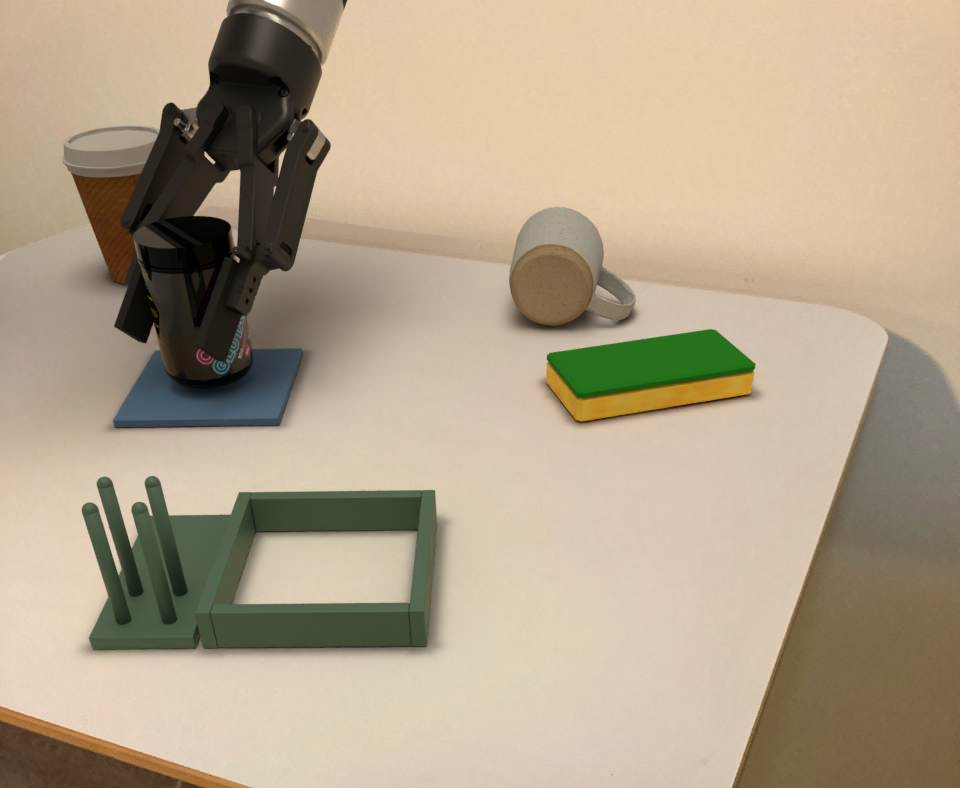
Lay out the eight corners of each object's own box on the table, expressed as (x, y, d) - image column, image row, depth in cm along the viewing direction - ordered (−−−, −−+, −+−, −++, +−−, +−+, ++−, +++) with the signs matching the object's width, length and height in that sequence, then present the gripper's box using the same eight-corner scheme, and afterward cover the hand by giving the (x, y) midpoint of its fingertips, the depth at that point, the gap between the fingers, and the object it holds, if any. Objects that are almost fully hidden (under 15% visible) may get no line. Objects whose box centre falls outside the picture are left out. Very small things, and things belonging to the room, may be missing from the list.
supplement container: (187, 400, 75) (154, 255, 68) (151, 368, 79) (117, 229, 73) (271, 374, 78) (247, 233, 71) (232, 345, 82) (207, 209, 76)
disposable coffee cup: (104, 258, 103) (71, 126, 95) (201, 253, 103) (176, 121, 95) (83, 294, 95) (45, 154, 88) (187, 289, 96) (159, 150, 88)
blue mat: (114, 427, 75) (112, 420, 75) (156, 357, 84) (155, 350, 84) (279, 425, 75) (278, 417, 74) (303, 354, 84) (302, 347, 84)
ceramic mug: (505, 329, 87) (507, 236, 82) (515, 292, 93) (516, 203, 88) (633, 335, 86) (642, 241, 81) (634, 297, 92) (642, 207, 87)
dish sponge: (753, 395, 77) (758, 364, 75) (577, 424, 74) (578, 392, 72) (710, 356, 82) (714, 326, 80) (544, 382, 79) (545, 351, 78)
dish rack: (91, 649, 56) (48, 520, 50) (149, 525, 65) (117, 406, 60) (426, 646, 55) (417, 516, 50) (437, 522, 64) (430, 401, 59)
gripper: (413, 88, 74) (308, 390, 74) (200, 66, 82) (104, 341, 81) (364, 14, 67) (248, 348, 67) (137, -1, 75) (31, 298, 74)
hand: (169, 343), depth 74 cm, fingers closed on supplement container, 7 cm apart
